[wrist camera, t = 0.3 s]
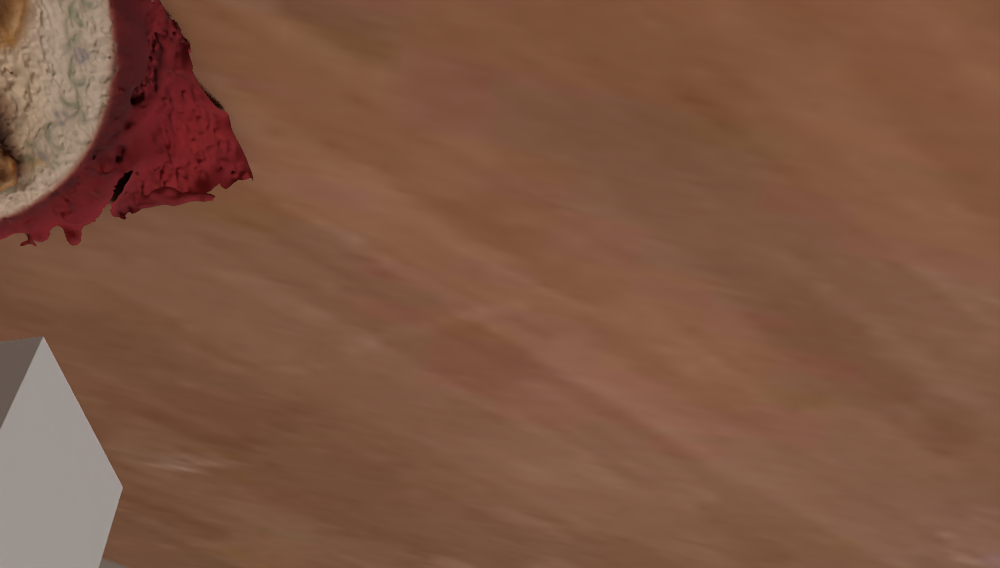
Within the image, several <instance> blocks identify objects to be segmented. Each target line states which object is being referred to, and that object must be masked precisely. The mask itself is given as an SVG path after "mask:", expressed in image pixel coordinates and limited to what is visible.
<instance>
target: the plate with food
mask: <svg viewBox="0 0 1000 568" xmlns="http://www.w3.org/2000/svg"><path fill="white" fill-rule="evenodd" d="M190 52H191V50H190V43H189V42H188V41H186V42H185V40H184V37H183V35H182V34H181V29H180V27H179V26H178V24H175V20H170V18H169V17H168V15H167V12H166V10H165V8H164V7H163V6H162V4H161V2H160V1H159V0H0V240H1V239H3V238H6V237H8V236H10V235H11V234H14V233H27V234H29V236H28V238H29V239H28V240H27V241H25V242H23V243H22V244H21V245H20V246H24V245H26V244H33V245H34V246H37V245H36V244H35V243H34V241H33V239H34V240H35V241H38V242H43V241H45V240H47V239H48V237H49V235H50V232H49V231H50V230H51V229H52V228H53V227H54V226H60V227H62V228H63V229H64V232H65V236H66V239H67V241H68V242H69V243H70V244H71V245H78V244H79V243H80V241H81V233H82V232H81V230H82V228H83V226H85V225H87V224H89V223H91V222H94V221H96V220H95V219H96V218H98V217H99V215H100V214H101V212H102V209H103V208H104V207H105V206H106V205H107V204H109V203H111V202H109V201H110V199H111V198H112V196H113V194H114V192H113V190H114V189H116V188H115V187H114V186H116V185H117V182H118V180H119V179H120V178H122V177H123V176H124V173H128V172H129V171H131V170H132V171H133V173H132V175H131V177H130V179H129V181H128V182H127V183H126V185H125V186H124V189H123V192H122V193H121V194H120V195H119V196H118V198H117V200H116V201H114V202H113V203H112V204H111V206H112V208H111V210H110V211H111V215H113V216H114V217H120V218H122V219H125V218H126V217H125V215H126V214H127V213H128V212H131V213H136V212H138V211H139V210H141V209H142V208H149V207H154V206H158V205H171V206H176V205H181V204H184V203H187V202H191V201H202V202H206V201H212V200H213V199H214V197H215V196H214V195H212V194H208V193H206V192H208V191H211V190H212V189H213V188H214V187H215V186H217V185H218V184H219V183H220V185H221V186H222V187H223V188H224V189H227V188H228V187H230V186H231V185H232V184H233V183H234V182H236V181H237V180H246V179H248V178H252V180H253V175H252V172H251V169H250V167H249V164H248V162H247V159H246V157H245V155H244V153H243V150H242V148H241V146H240V145H239V143H238V141H237V139H236V137H235V135H234V133H233V131H232V128H231V124H230V119H229V115H228V114H227V112H225V111H222V110H220V109H219V108H218V107H216V106H215V105H214V104H213V103H212V102H211V100H210V99H209V98H208V96H207V95H206V93H205V92H204V90H203V89H202V88H201V86H200V85H199V84H198V82H197V80H196V78H195V76H194V74H193V71H192V70H193V66H192V62H191V59H190V56H189V53H190ZM142 187H143V189H142Z"/></svg>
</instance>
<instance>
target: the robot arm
mask: <svg viewBox="0 0 1000 568" xmlns="http://www.w3.org/2000/svg"><path fill="white" fill-rule="evenodd" d="M122 488H123V487H122V485H121V483H120V481H119V479H118V477H117V476H116V474H115V472H114V470H113V468H112V466H111V464H110V462H109V460H108V458H107V457H106V455H105V453H104V451H103V449H102V447H101V445H100V443H99V441H98V439H97V438H96V436H95V434H94V432H93V430H92V428H91V426H90V424H89V422H88V420H87V419H86V417H85V415H84V413H83V411H82V409H81V407H80V405H79V403H78V401H77V400H76V398H75V396H74V394H73V392H72V390H71V388H70V386H69V384H68V382H67V381H66V379H65V377H64V375H63V373H62V371H61V369H60V367H59V365H58V363H57V362H56V360H55V358H54V356H53V354H52V352H51V350H50V348H49V346H48V344H47V343H46V341H45V339H44V337H35V338H27V339H19V340H11V341H4V342H0V568H99V564H100V561H101V558H102V555H103V551H104V548H105V545H106V541H107V538H108V535H109V531H110V528H111V525H112V521H113V518H114V515H115V511H116V508H117V505H118V501H119V498H120V495H121V491H122Z"/></svg>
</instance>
